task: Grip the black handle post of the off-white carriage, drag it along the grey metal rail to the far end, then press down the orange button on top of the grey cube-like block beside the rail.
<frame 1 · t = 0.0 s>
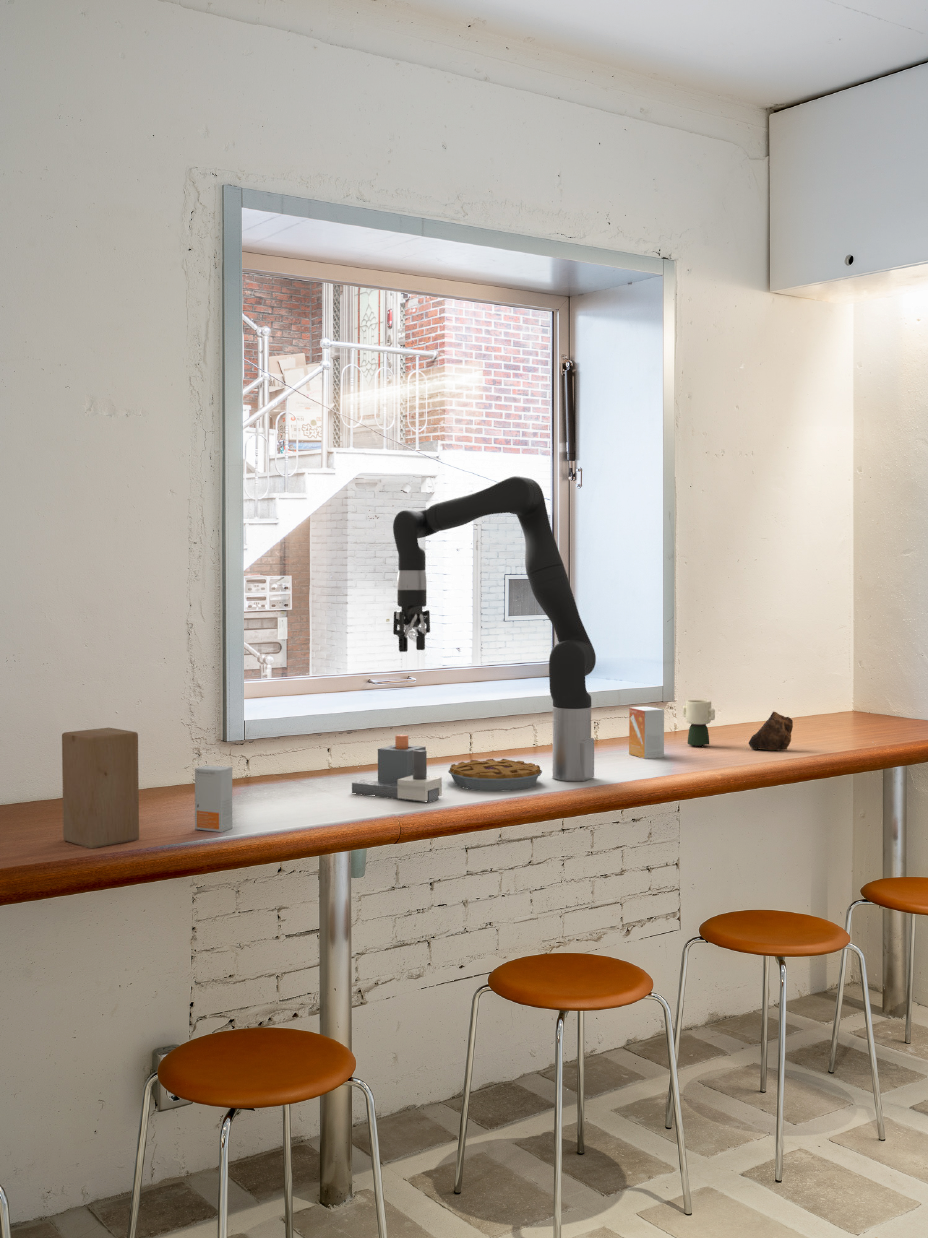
hand: (412, 650, 293), 29 cm above the table, tool pointing down, fingers open, 8 cm apart
small box: (646, 756, 306), on the table
rail: (394, 796, 249), on the table
wooden block: (101, 841, 208), on the table
carriage: (419, 773, 246), point 6 cm above the table, slide at 0.0 cm
pie: (495, 785, 265), on the table
character mug: (698, 747, 323), on the table
skincare box: (213, 830, 217), on the table
button: (401, 745, 261), point 10 cm above the table, slide at 0.0 cm
grey cube-like block: (401, 786, 261), on the table
decorative rock: (771, 751, 316), on the table
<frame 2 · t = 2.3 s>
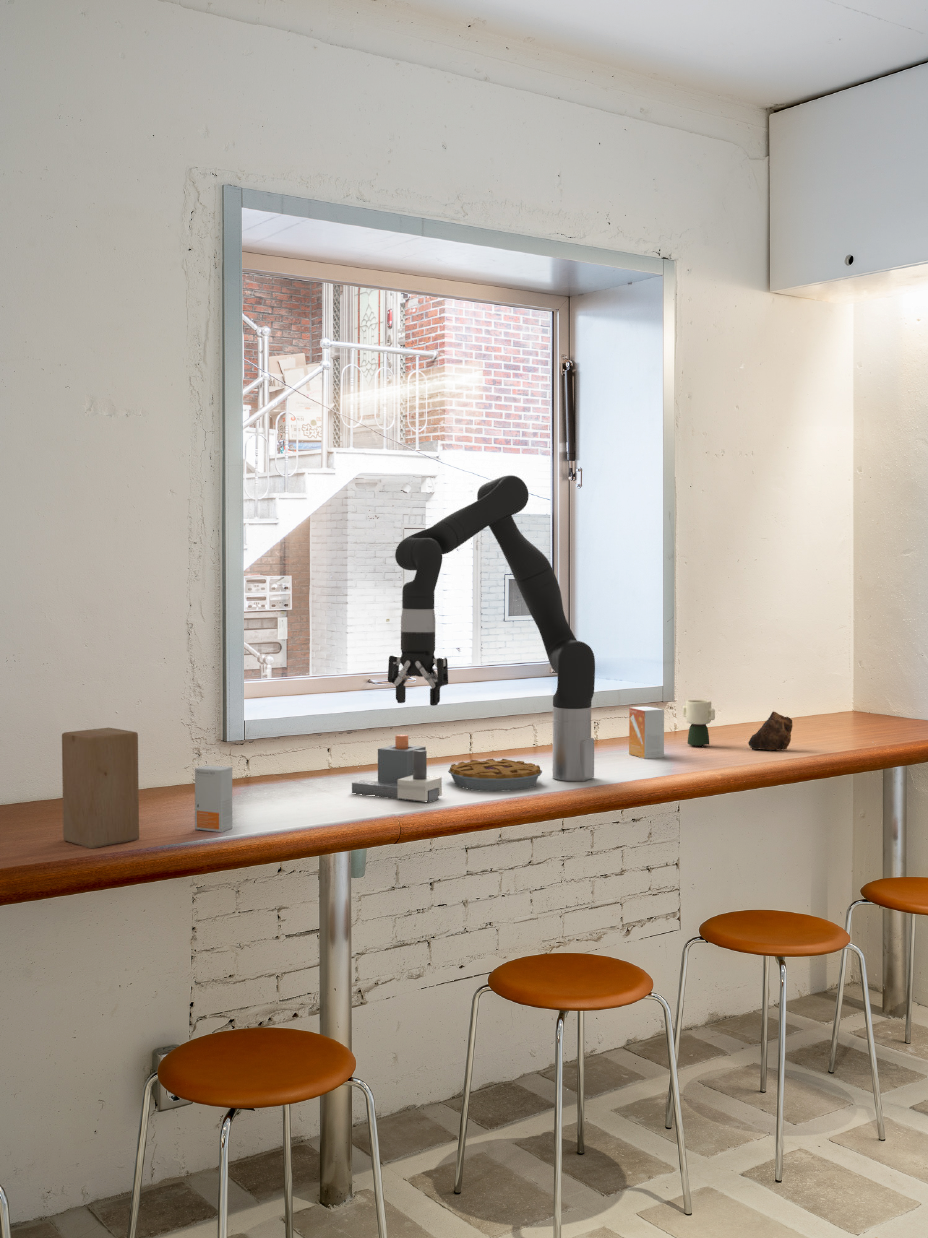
hand: (417, 704, 247), 21 cm above the table, tool pointing down, fingers open, 8 cm apart
nothing on the table moved.
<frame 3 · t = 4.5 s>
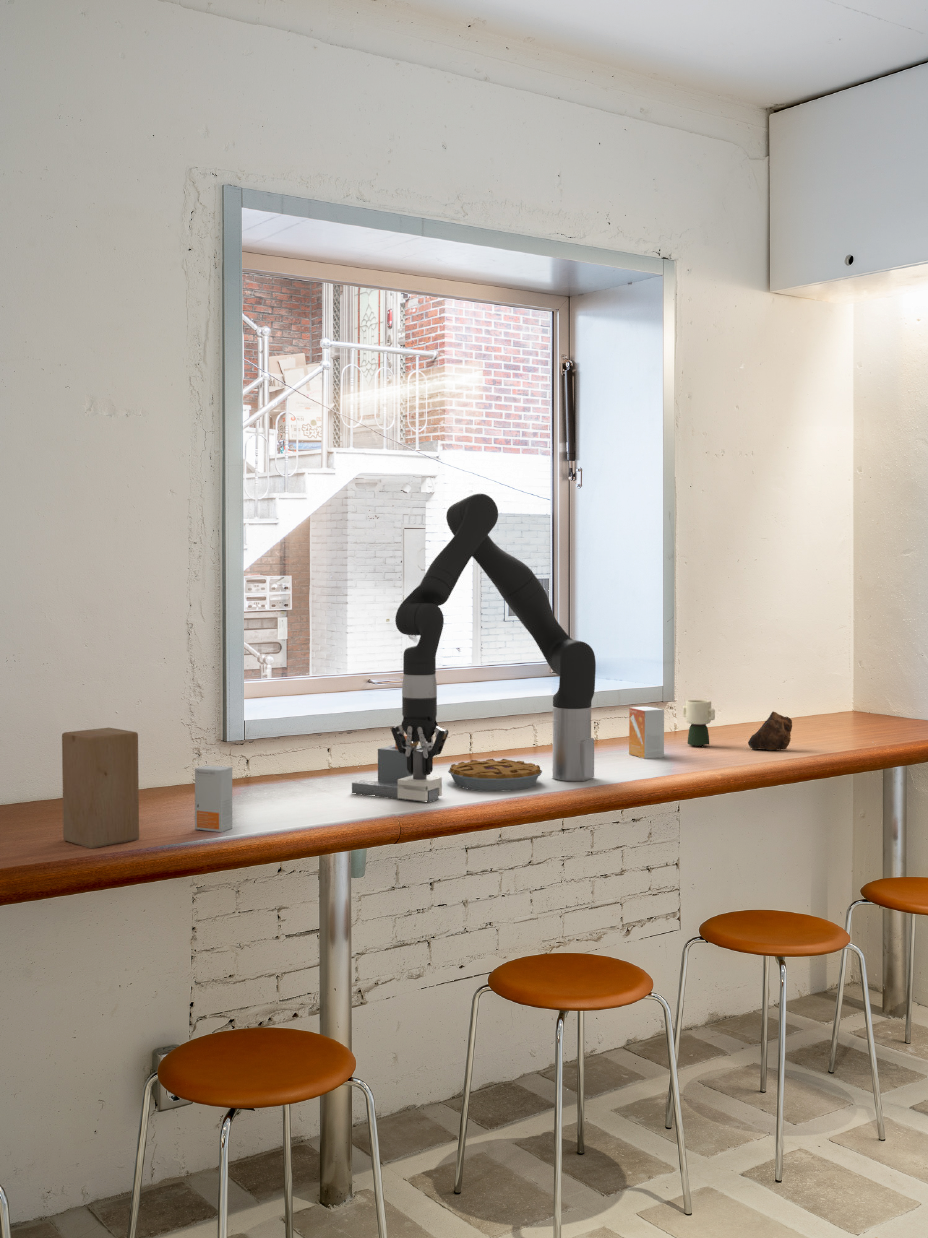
hand: (419, 773, 246), 6 cm above the table, tool pointing down, fingers closed on carriage, 3 cm apart
carriage: (419, 773, 246), point 6 cm above the table, slide at 0.0 cm, touching gripper
everything else where it was.
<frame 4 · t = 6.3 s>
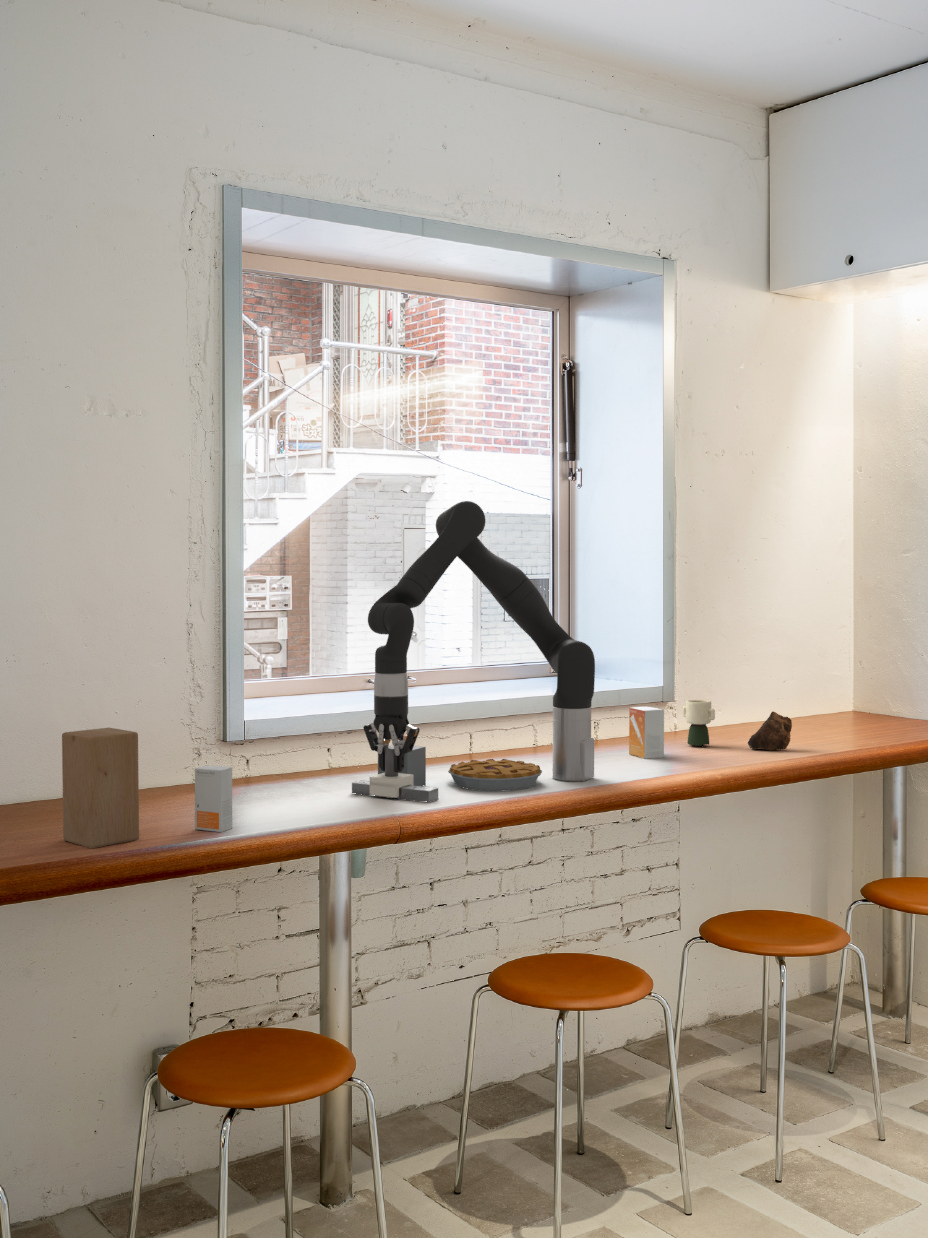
hand: (391, 770, 249), 6 cm above the table, tool pointing down, fingers closed on carriage, 3 cm apart
carriage: (391, 771, 249), point 6 cm above the table, slide at 7.3 cm, touching gripper
everything else where it was.
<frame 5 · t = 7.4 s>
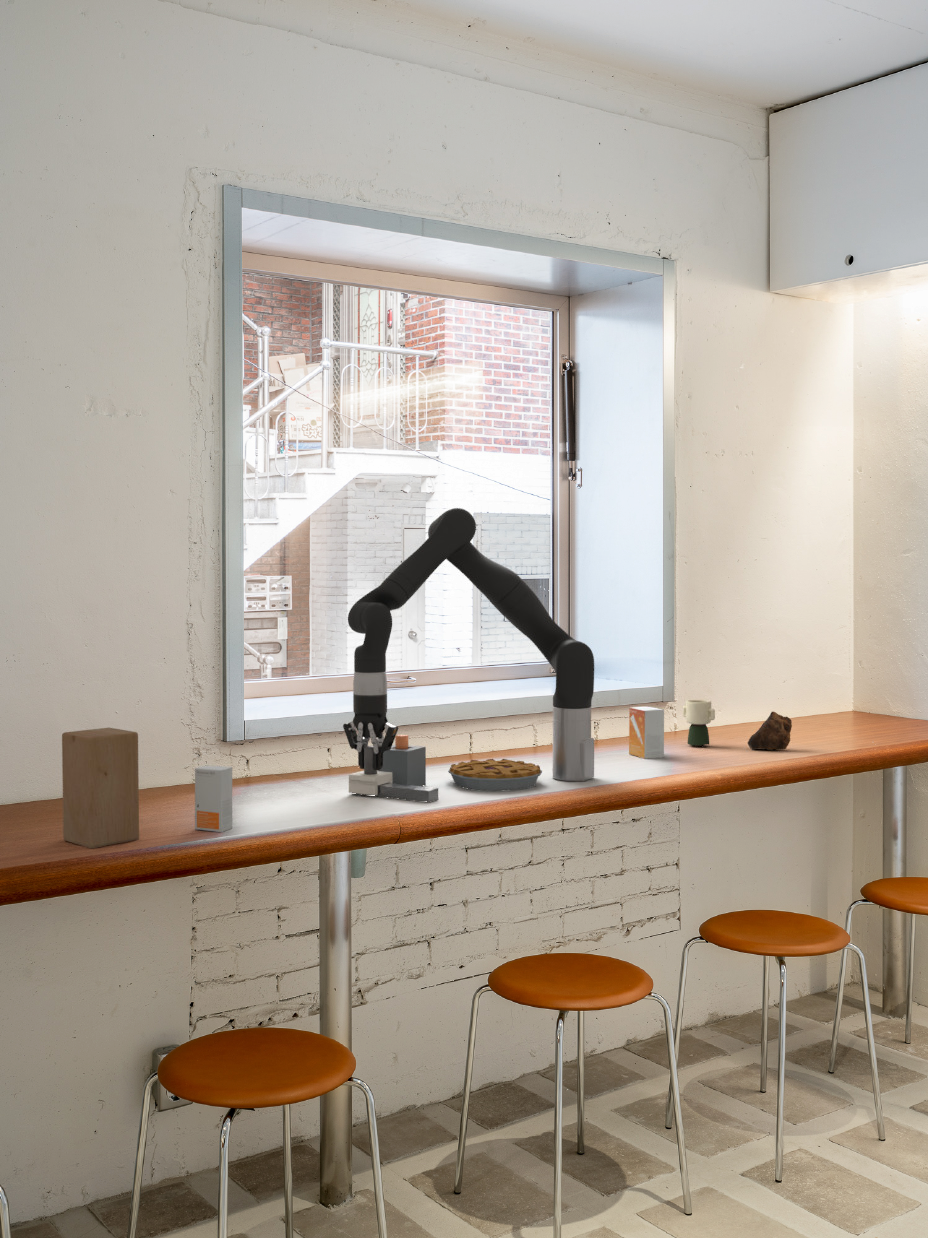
hand: (370, 768, 252), 6 cm above the table, tool pointing down, fingers closed on carriage, 3 cm apart
carriage: (370, 769, 252), point 6 cm above the table, slide at 12.8 cm, touching gripper
everything else where it was.
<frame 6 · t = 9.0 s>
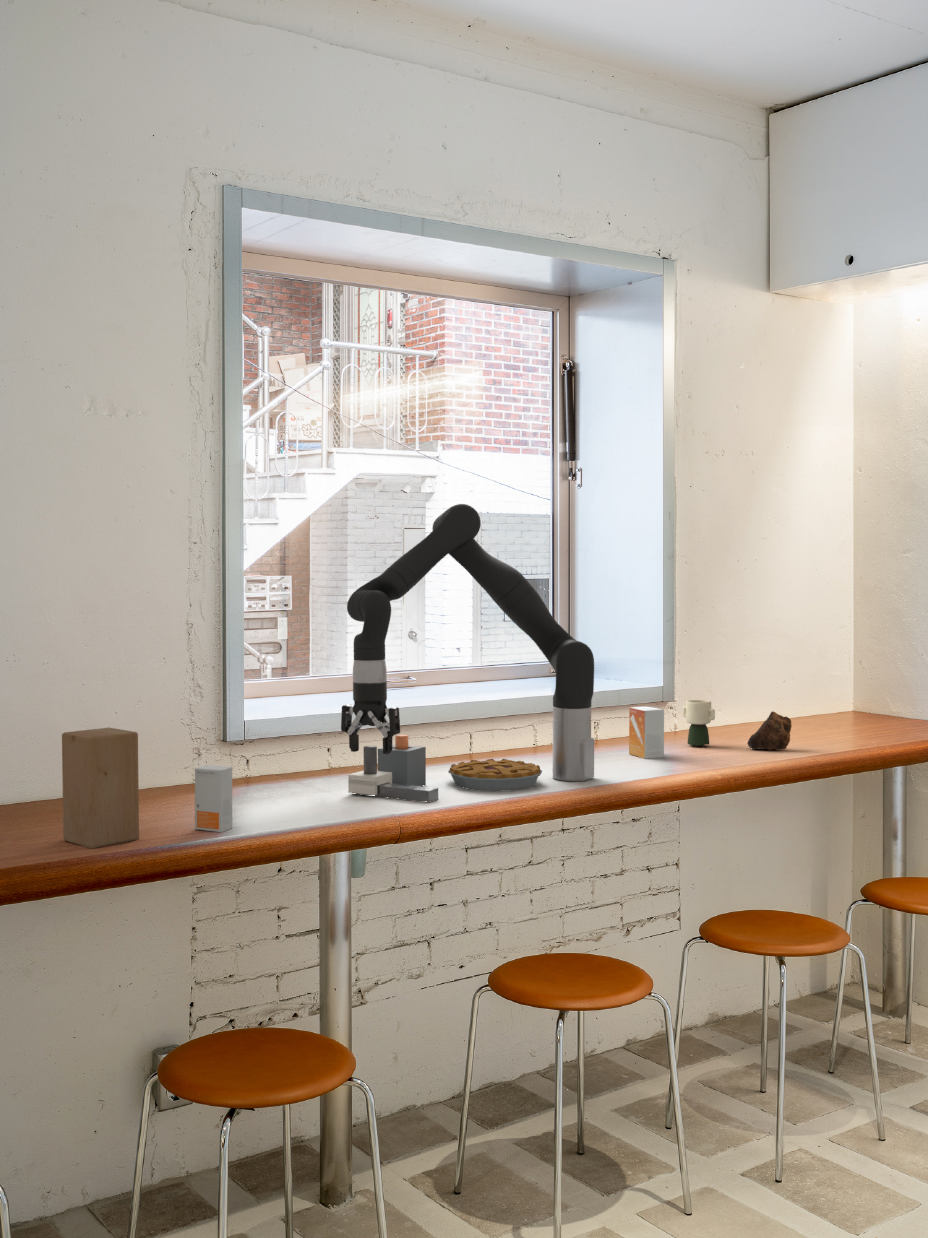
hand: (370, 752, 252), 9 cm above the table, tool pointing down, fingers open, 8 cm apart
carriage: (370, 769, 252), point 6 cm above the table, slide at 12.9 cm
everything else where it was.
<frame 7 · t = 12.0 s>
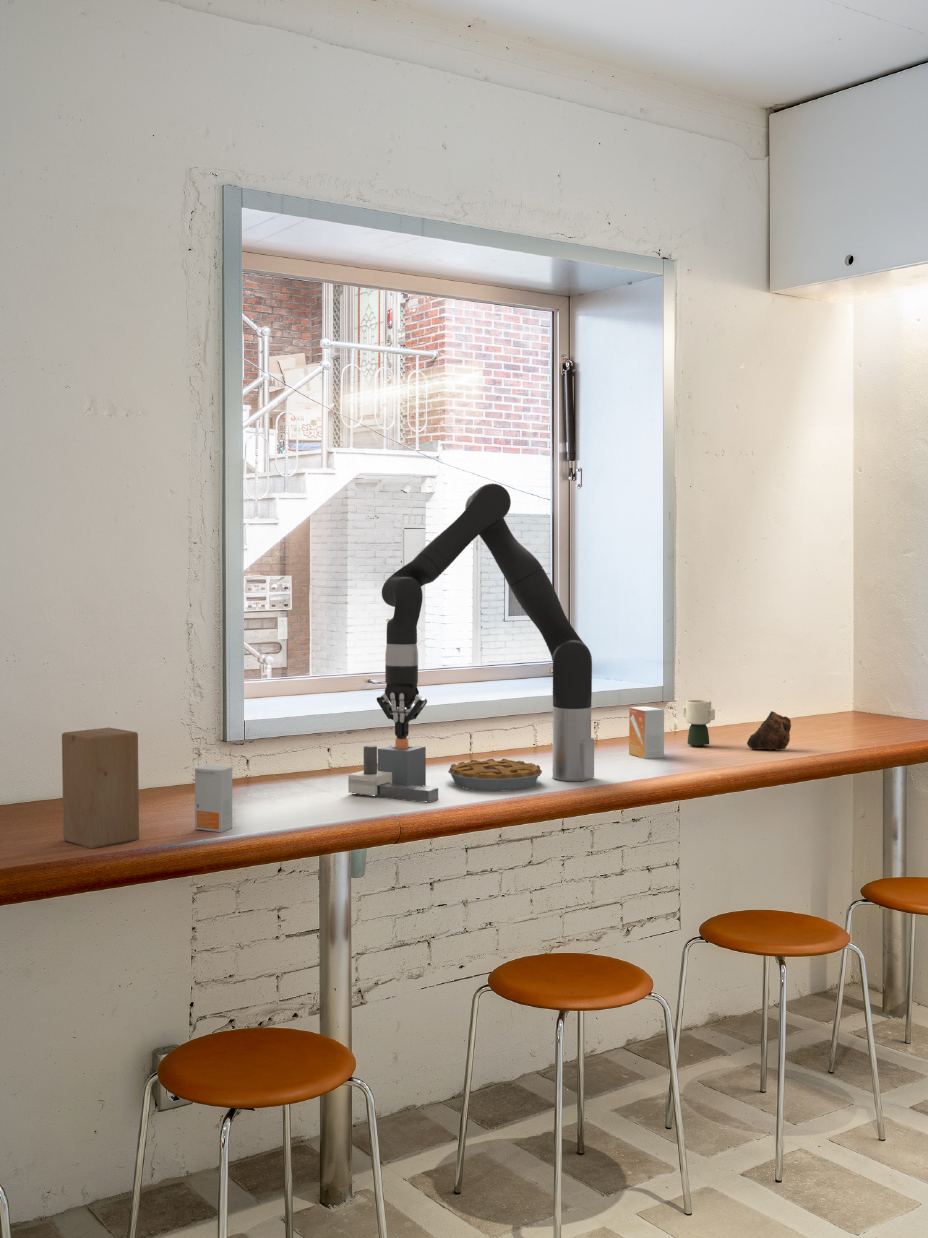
hand: (401, 738, 261), 11 cm above the table, tool pointing down, fingers closed
button: (401, 748, 261), point 9 cm above the table, slide at 0.6 cm, touching gripper
everything else where it was.
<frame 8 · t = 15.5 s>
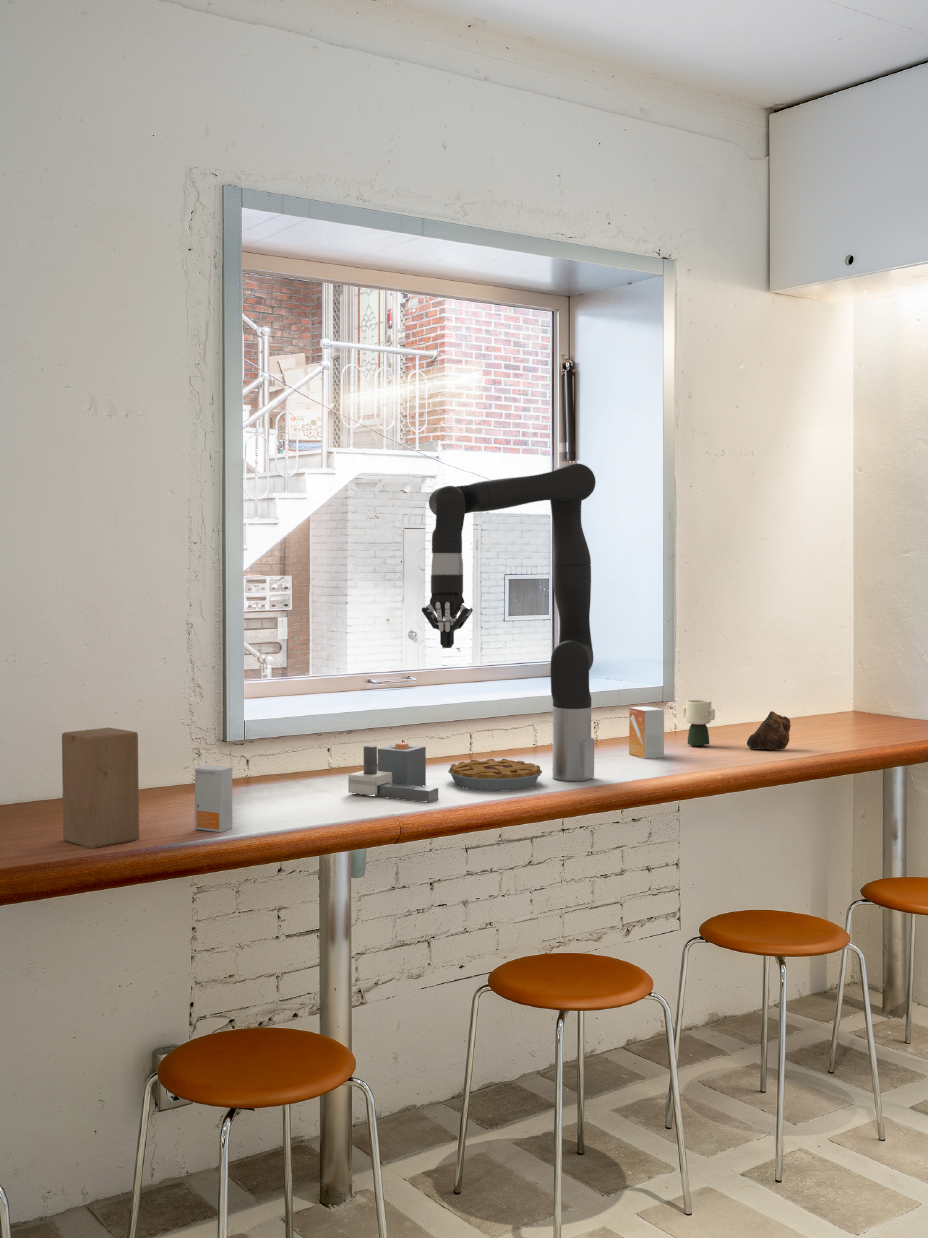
hand: (446, 647, 262), 32 cm above the table, tool pointing down, fingers closed
button: (401, 753, 261), point 8 cm above the table, slide at 1.9 cm
everything else where it was.
at the end: carriage slide at 12.9 cm; button slide at 1.9 cm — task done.
